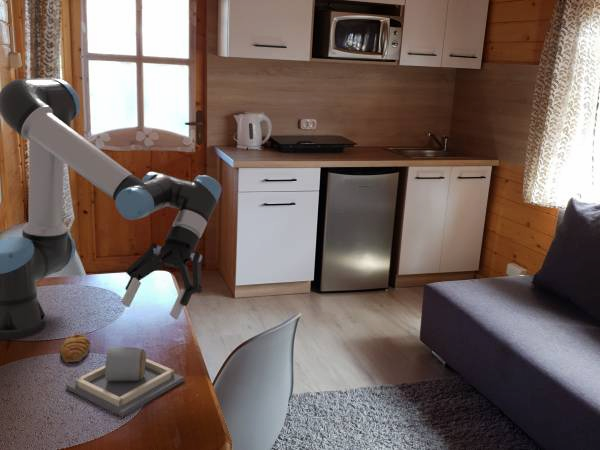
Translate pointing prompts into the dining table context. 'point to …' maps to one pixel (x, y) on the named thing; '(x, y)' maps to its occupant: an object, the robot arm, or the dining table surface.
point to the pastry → (75, 348)
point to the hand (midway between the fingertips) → (148, 310)
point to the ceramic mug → (125, 364)
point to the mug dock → (125, 388)
